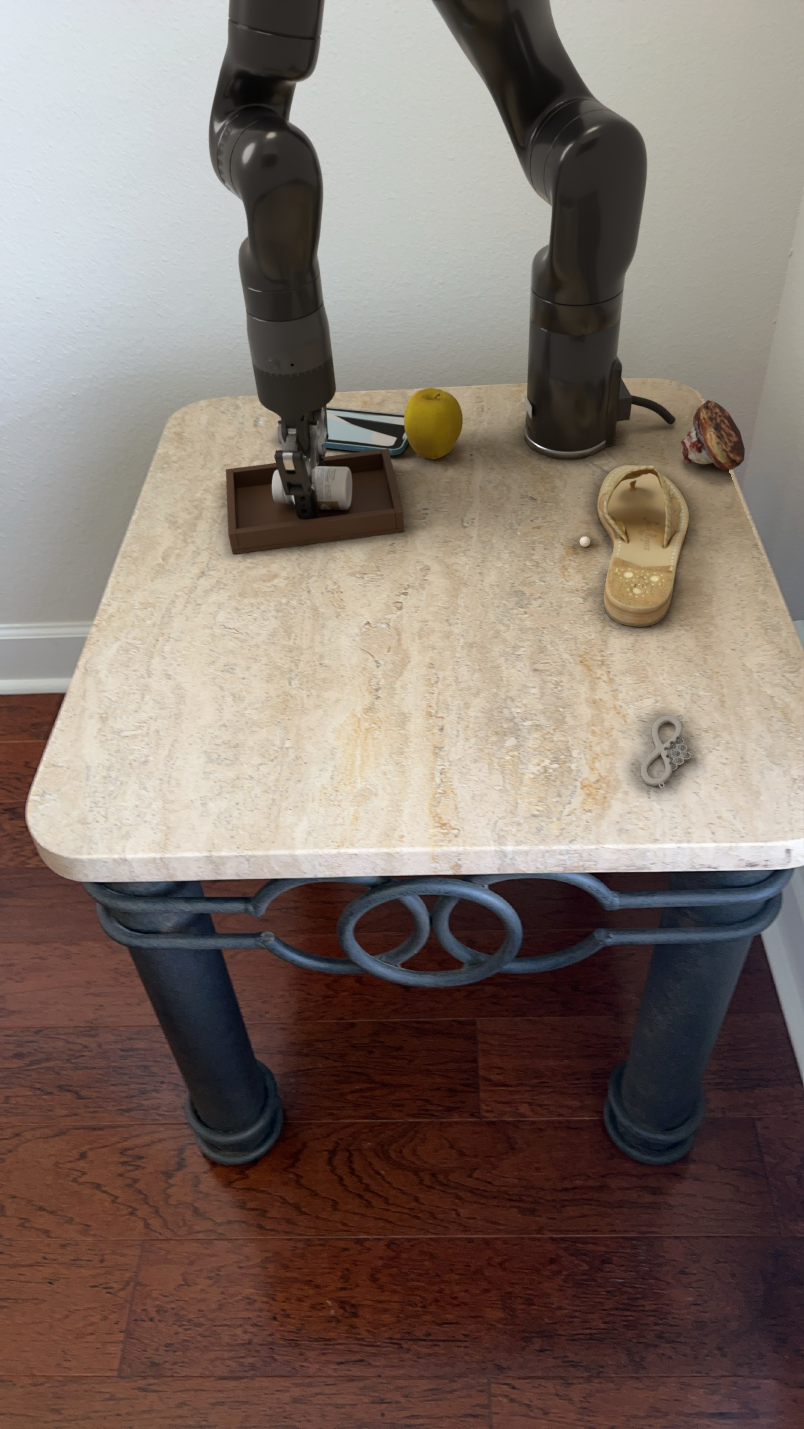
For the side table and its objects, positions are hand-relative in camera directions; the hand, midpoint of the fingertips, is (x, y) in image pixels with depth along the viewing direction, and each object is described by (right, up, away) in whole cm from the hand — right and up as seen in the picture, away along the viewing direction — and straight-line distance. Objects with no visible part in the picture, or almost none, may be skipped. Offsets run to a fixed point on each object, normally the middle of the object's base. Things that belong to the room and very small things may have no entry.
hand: (312, 502), depth 109 cm
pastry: (+43, +7, -1) cm, 44 cm away
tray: (0, -1, +1) cm, 1 cm away
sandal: (+33, -5, -6) cm, 34 cm away
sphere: (+28, -8, -9) cm, 30 cm away
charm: (+29, -25, -24) cm, 45 cm away
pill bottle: (+4, +1, -2) cm, 5 cm away
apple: (+13, +7, +7) cm, 16 cm away
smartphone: (+3, +10, +10) cm, 14 cm away
